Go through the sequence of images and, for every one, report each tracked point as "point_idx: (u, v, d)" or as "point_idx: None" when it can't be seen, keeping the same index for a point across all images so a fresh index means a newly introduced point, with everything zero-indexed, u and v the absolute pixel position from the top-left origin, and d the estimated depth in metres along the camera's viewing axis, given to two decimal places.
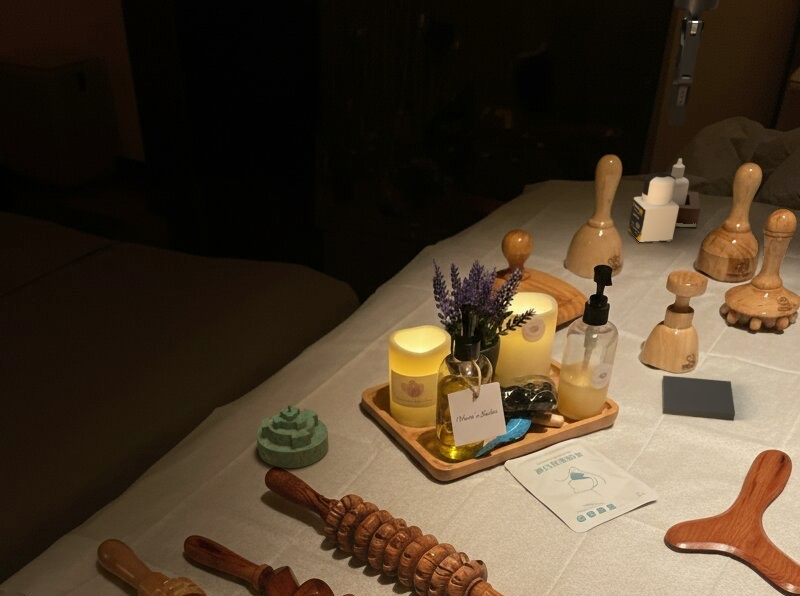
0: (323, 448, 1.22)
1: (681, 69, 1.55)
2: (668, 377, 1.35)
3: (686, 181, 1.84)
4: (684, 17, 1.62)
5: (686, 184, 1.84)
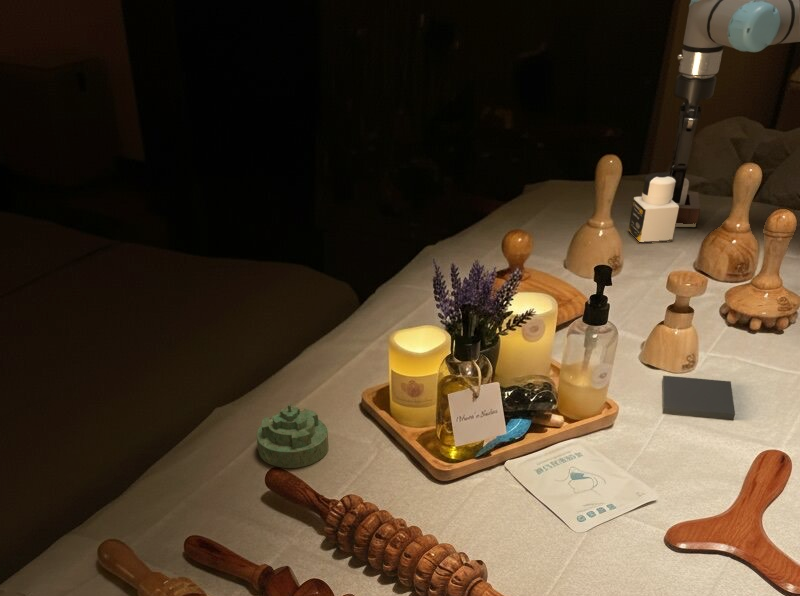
0: (323, 448, 1.22)
1: (677, 159, 1.77)
2: (668, 377, 1.35)
3: (686, 181, 1.84)
4: None
5: (686, 184, 1.84)
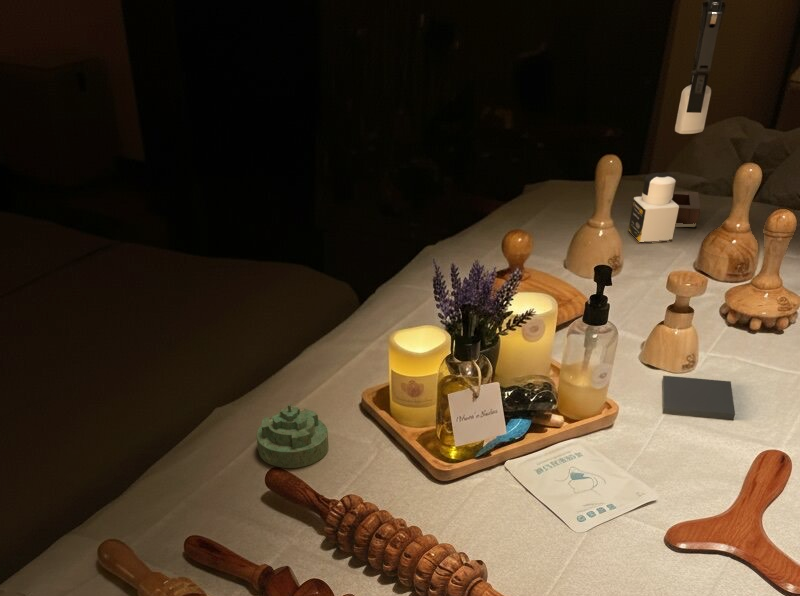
0: (323, 448, 1.22)
1: (699, 60, 1.62)
2: (668, 377, 1.35)
3: (708, 89, 1.69)
4: None
5: (708, 92, 1.69)
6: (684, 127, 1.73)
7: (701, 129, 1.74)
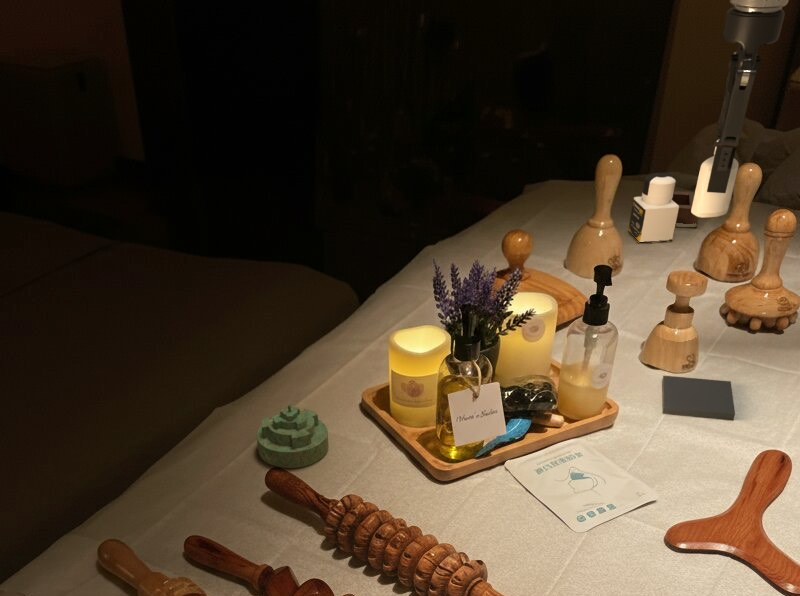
0: (323, 448, 1.22)
1: (725, 130, 1.25)
2: (668, 377, 1.35)
3: (735, 162, 1.32)
4: None
5: (734, 167, 1.33)
6: (702, 209, 1.36)
7: (725, 211, 1.37)
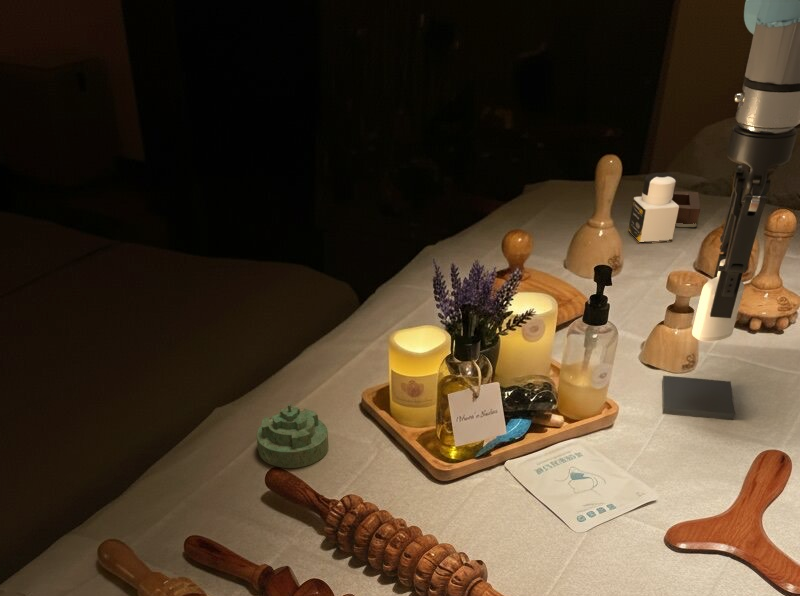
0: (323, 448, 1.22)
1: (731, 257, 1.12)
2: (668, 377, 1.35)
3: (740, 285, 1.19)
4: None
5: (739, 290, 1.19)
6: (705, 333, 1.22)
7: (729, 334, 1.24)
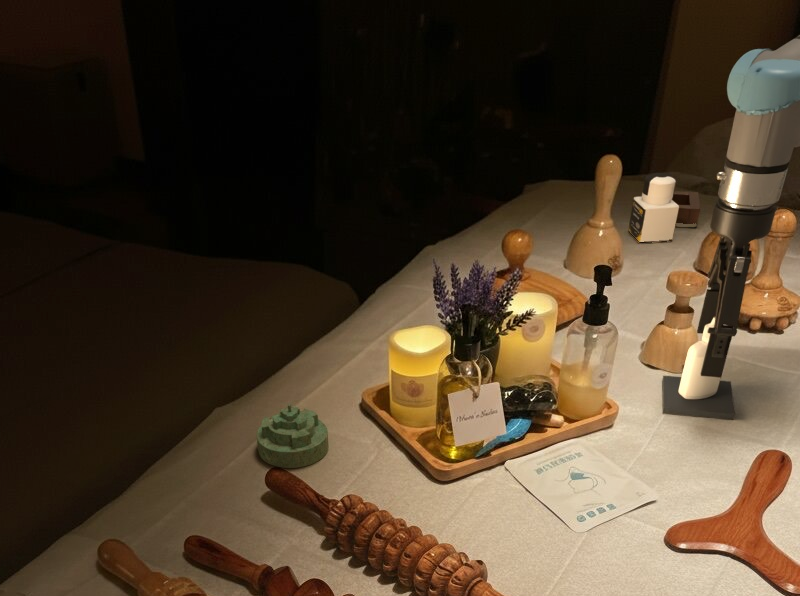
0: (323, 448, 1.22)
1: (720, 318, 1.14)
2: (668, 377, 1.35)
3: None
4: None
5: None
6: (691, 392, 1.29)
7: (714, 392, 1.30)
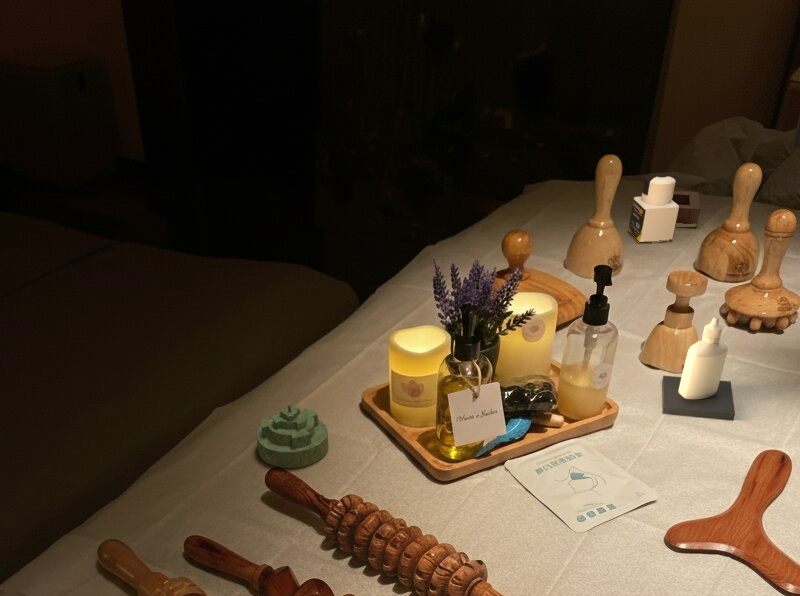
0: (323, 448, 1.22)
1: None
2: (668, 377, 1.35)
3: (724, 347, 1.25)
4: None
5: (723, 352, 1.25)
6: (691, 392, 1.29)
7: (714, 392, 1.30)
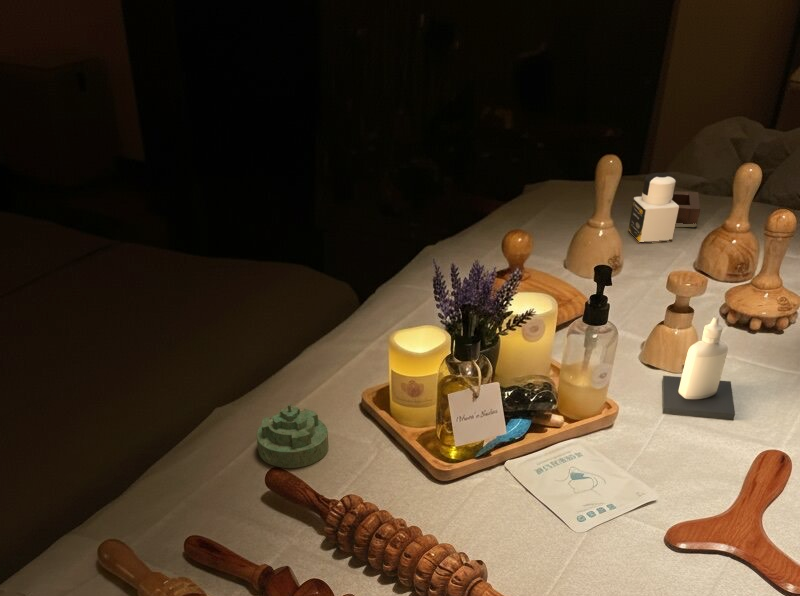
0: (323, 448, 1.22)
1: None
2: (668, 377, 1.35)
3: (724, 347, 1.25)
4: None
5: (723, 352, 1.25)
6: (691, 392, 1.29)
7: (714, 392, 1.30)
